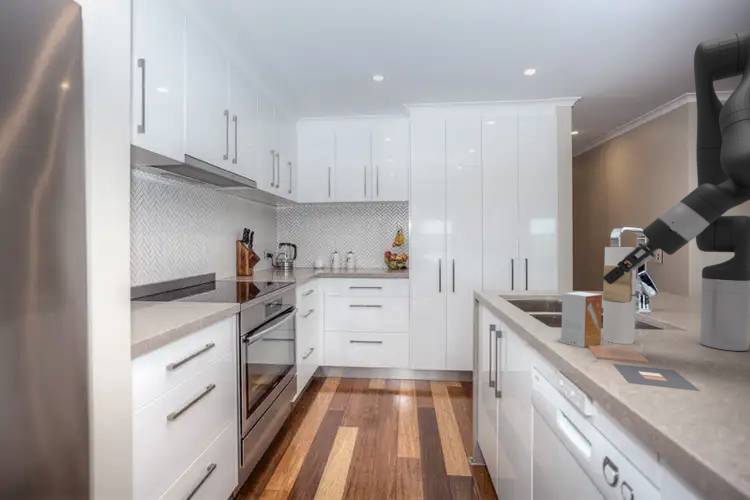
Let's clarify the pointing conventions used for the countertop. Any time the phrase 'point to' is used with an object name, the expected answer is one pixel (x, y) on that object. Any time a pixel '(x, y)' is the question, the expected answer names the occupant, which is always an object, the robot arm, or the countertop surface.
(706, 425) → the countertop surface
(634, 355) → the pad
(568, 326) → the small box
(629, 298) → the maple block
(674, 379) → the mat
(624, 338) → the cylindrical container
